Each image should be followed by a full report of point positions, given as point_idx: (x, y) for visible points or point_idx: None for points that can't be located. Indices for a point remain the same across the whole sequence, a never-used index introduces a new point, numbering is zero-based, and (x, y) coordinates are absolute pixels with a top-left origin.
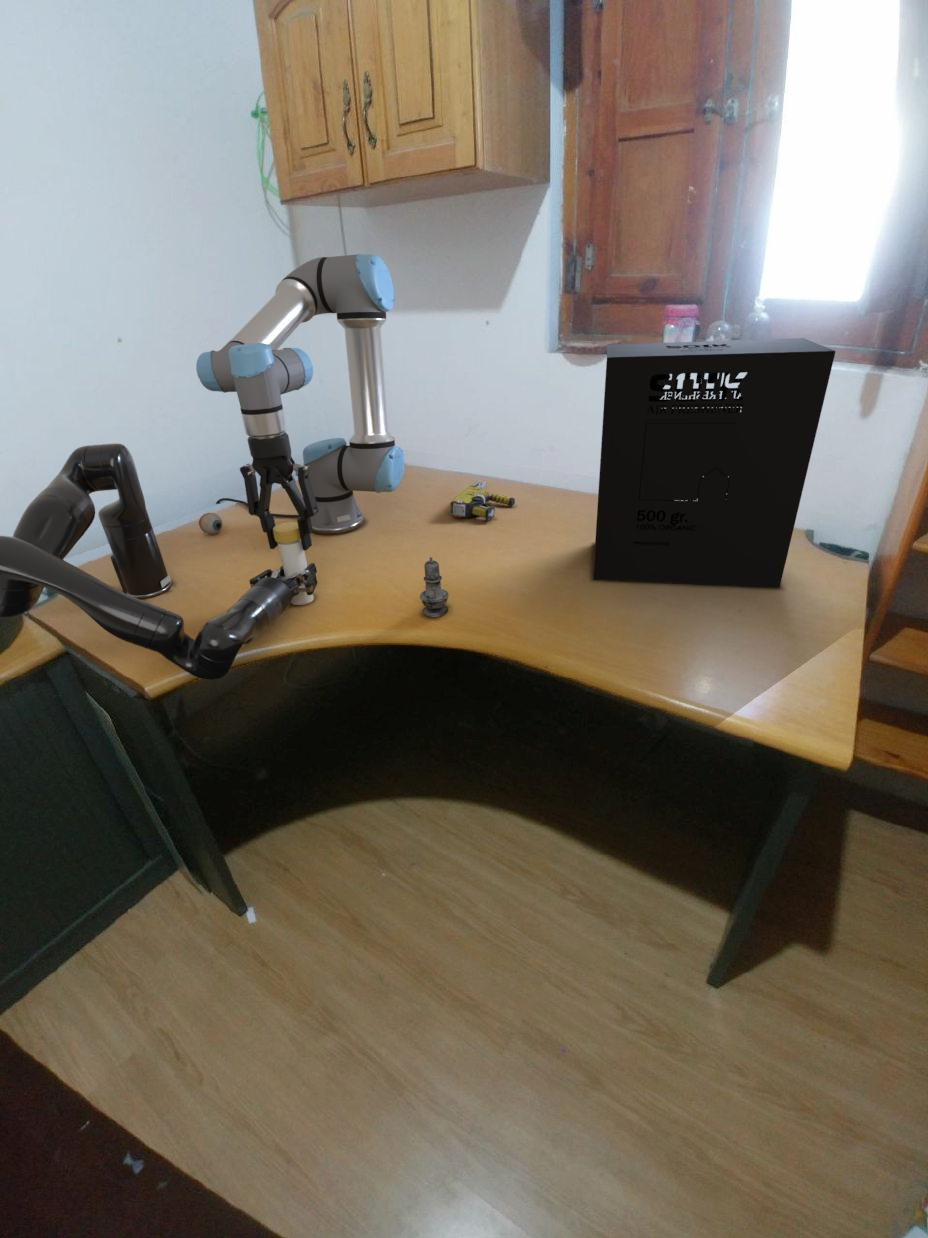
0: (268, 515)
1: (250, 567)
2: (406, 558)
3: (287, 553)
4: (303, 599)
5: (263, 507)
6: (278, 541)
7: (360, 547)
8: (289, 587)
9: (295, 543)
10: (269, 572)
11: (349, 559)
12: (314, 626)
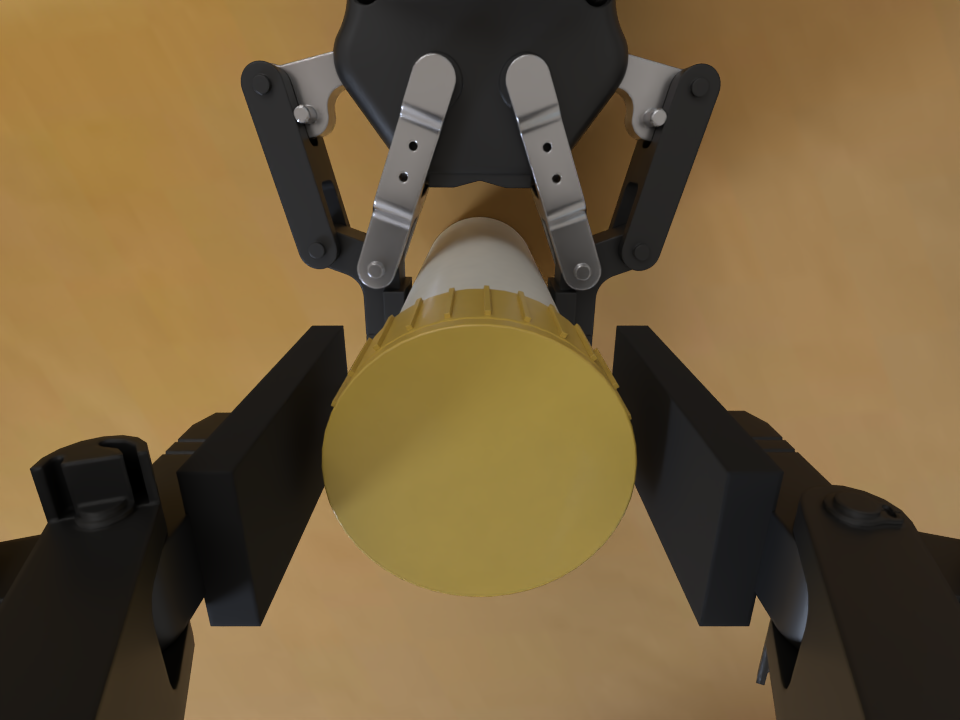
0: (754, 595)
1: None
2: (206, 652)
3: (466, 276)
4: (445, 232)
5: (854, 624)
6: (533, 301)
7: (438, 715)
8: (366, 3)
9: None
10: (625, 235)
11: (437, 628)
12: (287, 10)
